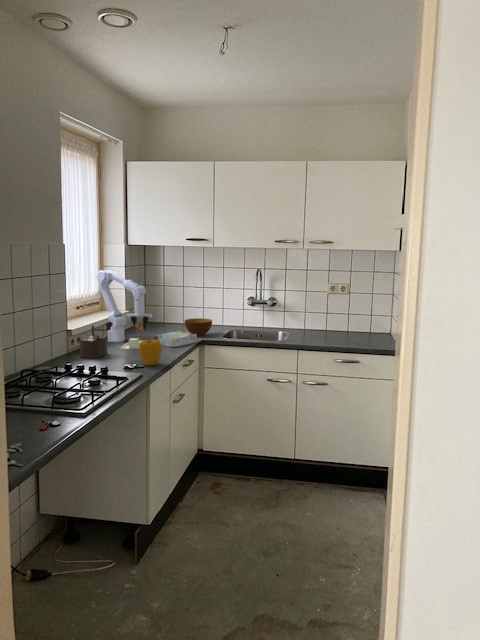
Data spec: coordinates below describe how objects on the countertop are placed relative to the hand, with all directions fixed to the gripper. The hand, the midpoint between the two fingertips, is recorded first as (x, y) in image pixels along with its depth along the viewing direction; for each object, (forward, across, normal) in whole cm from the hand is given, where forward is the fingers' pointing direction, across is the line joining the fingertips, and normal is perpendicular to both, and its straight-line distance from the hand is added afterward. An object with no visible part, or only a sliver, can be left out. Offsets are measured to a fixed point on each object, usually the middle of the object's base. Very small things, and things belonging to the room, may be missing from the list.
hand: (140, 329), depth 316 cm
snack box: (+6, +14, +8) cm, 17 cm away
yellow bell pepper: (+9, +17, -49) cm, 53 cm away
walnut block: (+1, 0, 0) cm, 1 cm away
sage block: (+8, 0, -14) cm, 16 cm away
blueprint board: (+9, 0, -4) cm, 10 cm away
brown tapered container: (+9, -16, -31) cm, 36 cm away
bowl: (+9, +30, +31) cm, 44 cm away
